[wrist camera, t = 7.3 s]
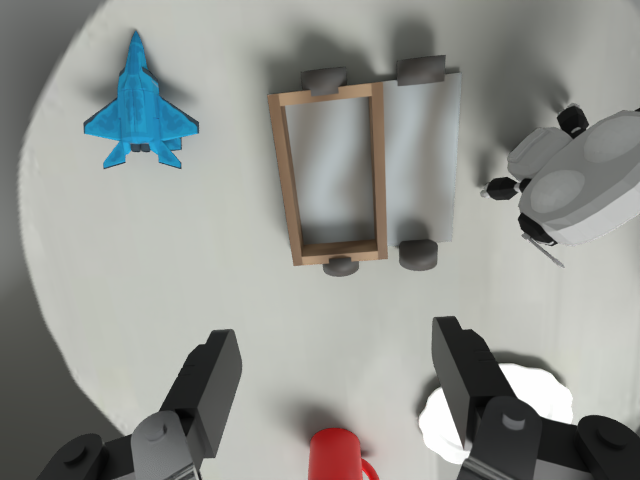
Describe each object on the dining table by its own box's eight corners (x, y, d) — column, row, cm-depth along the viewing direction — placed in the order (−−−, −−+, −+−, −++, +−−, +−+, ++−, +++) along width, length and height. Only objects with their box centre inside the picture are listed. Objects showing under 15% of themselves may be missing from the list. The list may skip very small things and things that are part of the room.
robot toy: (555, 79, 32) (720, 78, 18) (585, 111, 33) (763, 132, 19) (456, 181, 36) (530, 241, 23) (485, 206, 37) (573, 279, 24)
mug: (366, 474, 57) (370, 530, 50) (301, 450, 55) (296, 505, 48) (392, 448, 54) (400, 503, 47) (325, 421, 52) (323, 475, 45)
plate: (595, 410, 50) (603, 420, 48) (476, 474, 57) (480, 484, 55) (507, 330, 44) (513, 339, 43) (388, 411, 51) (389, 421, 50)
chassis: (460, 54, 31) (477, 50, 28) (449, 250, 40) (461, 267, 36) (265, 77, 33) (257, 76, 29) (294, 262, 41) (290, 280, 37)
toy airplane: (221, 138, 35) (209, 145, 32) (153, 191, 38) (135, 203, 34) (136, 30, 31) (111, 22, 28) (67, 96, 34) (34, 97, 30)
